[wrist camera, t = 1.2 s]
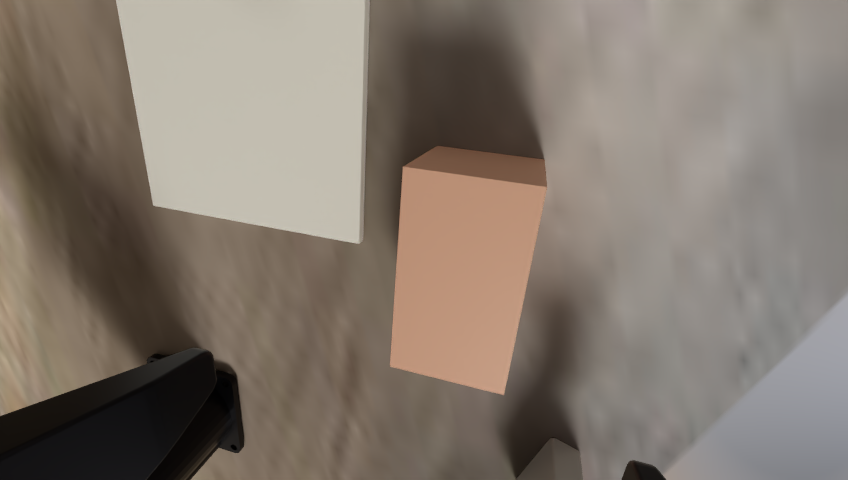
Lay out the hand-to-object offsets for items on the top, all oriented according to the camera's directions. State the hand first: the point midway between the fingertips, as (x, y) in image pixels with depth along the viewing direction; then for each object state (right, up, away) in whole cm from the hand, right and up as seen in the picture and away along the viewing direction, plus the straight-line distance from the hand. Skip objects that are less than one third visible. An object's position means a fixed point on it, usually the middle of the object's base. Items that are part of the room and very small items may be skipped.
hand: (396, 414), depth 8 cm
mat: (-8, +11, +10) cm, 17 cm away
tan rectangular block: (+3, +4, +10) cm, 11 cm away
